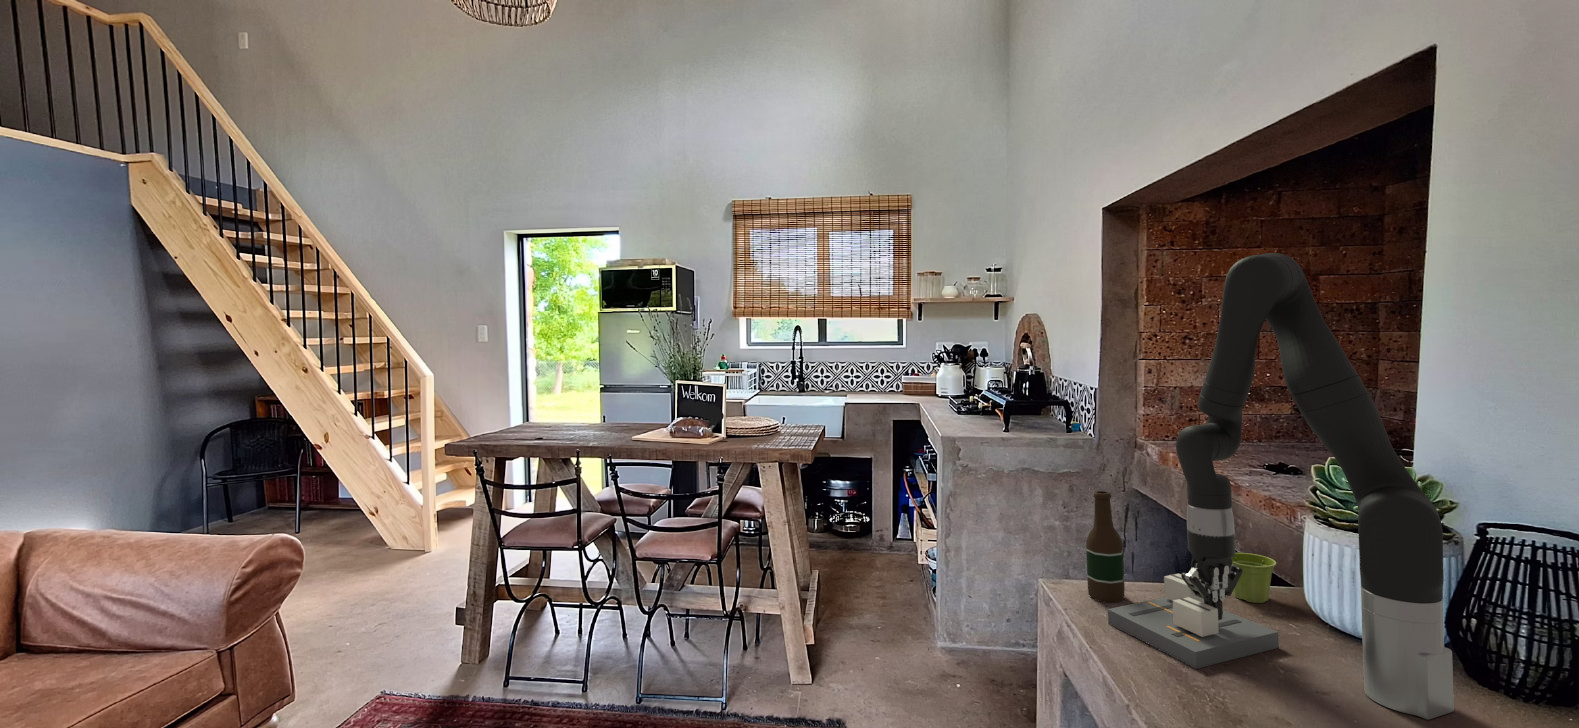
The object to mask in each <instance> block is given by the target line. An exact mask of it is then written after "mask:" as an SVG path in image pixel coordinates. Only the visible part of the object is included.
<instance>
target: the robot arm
mask: <svg viewBox="0 0 1579 728" xmlns="http://www.w3.org/2000/svg"><path fill="white" fill-rule="evenodd" d="M1265 322H1267V324H1268V325H1269V327H1270V329H1271V330H1272V333H1273V334H1274V337H1275V339H1276V342H1277V346H1278V351H1279V358H1280V362H1281V363H1280V364H1281V368H1282V375H1283V378H1284V382H1285V385H1286V387H1287V390H1288V391H1289V392H1288V393H1289V394H1290V395H1291V397H1292V400H1293V401H1294V403H1295V404H1296V407H1297V409H1298V410H1299V412H1300V414H1301V416H1302V417H1303V418H1304V420H1305V422H1306V424H1307V425H1308V426H1309V428H1310V429H1311V431H1312V432H1313V433H1314V435H1316V437H1317V438H1318V439H1319V440H1318V441H1320V442H1321V443H1322V444H1323V445H1324V447H1325V448H1326V449H1327V450H1328V452H1329V453H1330V454H1331V456H1333V458H1334V460H1335V461H1336V462H1337V464H1338V466H1339V467H1340V468H1341V471H1342V472H1343V474H1344V477H1345V479H1346V481H1347V483H1348V485H1349V487H1350V489H1351V492H1352V495H1353V497H1354V499H1355V503H1356V506H1357V509H1358V514H1357V515H1358V516H1357V521H1358V522H1357V526H1358V527H1357V529H1358V531H1357V532H1358V533H1357V534H1358V552H1359V554H1358V559H1359V575H1360V598H1361V600H1360V601H1361V602H1360V604H1361V606H1360V608H1361V637H1362V667H1363V679H1362V680H1363V690H1364V693H1365V695H1366V696H1367V697H1368V699H1369V698H1370V699H1371V700H1372V701H1374V702H1375V703H1377V704H1379V705H1381V706H1384V707H1386V708H1389V709H1391V710H1394V711H1396V712H1400V713H1404V714H1408V715H1412V716H1413V715H1414V716H1416V717H1417V716H1418V717H1420V718H1423V720H1431V719H1434V718H1437V717H1438V718H1439V717H1440V716H1444V715H1447V714H1450V713H1453V712H1454V711H1455V707H1454V706H1455V705H1454V703H1455V702H1454V675H1453V674H1454V673H1453V672H1454V671H1453V670H1454V669H1453V668H1454V667H1453V651H1452V649H1450V648H1448V647H1446V646H1445V641H1444V640H1445V637H1444V636H1445V635H1444V634H1445V632H1444V595H1443V594H1444V593H1443V591H1444V582H1445V581H1444V580H1445V579H1444V575H1445V574H1444V534H1443V526H1442V522H1441V518H1440V515H1439V513H1438V510H1437V507H1436V506H1435V505H1434V503H1433V502H1432V501H1431V500H1430V498H1429V497H1428V496H1427V495H1426V494H1425V492H1424V491H1423V490H1422V489H1421V487H1420V486H1419V485H1418V484H1417V482H1416V480H1415V479H1414V478H1413V477H1412V475H1411V473H1410V472H1409V471H1408V470H1407V468H1406V467H1405V465H1404V464H1403V463H1402V461H1401V459H1400V458H1399V456H1398V455H1397V453H1396V451H1395V449H1394V448H1393V445H1392V443H1391V441H1390V438H1389V435H1388V432H1387V429H1386V427H1385V425H1384V422H1383V420H1382V418H1381V415H1380V413H1379V410H1378V409H1377V407H1376V404H1375V402H1374V401H1373V398H1372V396H1371V394H1370V393H1369V391H1368V389H1367V387H1366V385H1365V384H1364V382H1363V380H1362V378H1361V377H1360V375H1359V374H1358V372H1357V371H1356V369H1355V367H1354V366H1353V364H1352V363H1351V361H1350V360H1349V357H1348V356H1347V355H1346V352H1345V351H1344V350H1343V348H1342V346H1341V345H1340V342H1339V341H1338V340H1337V338H1336V336H1335V334H1334V333H1333V332H1332V330H1331V329H1330V327H1329V326H1328V324H1327V322H1326V321H1325V319H1324V317H1323V315H1322V313H1321V311H1320V309H1319V307H1318V304H1317V302H1316V299H1315V297H1314V295H1313V292H1312V290H1311V287H1310V284H1309V282H1308V280H1307V278H1306V275H1305V273H1304V271H1303V269H1302V268H1301V266H1300V264H1299V263H1298V262H1297V261H1296V260H1295V259H1293V258H1292V257H1290V256H1289V255H1286V254H1282V253H1278V252H1277V253H1276V252H1267V253H1260V254H1254V255H1249V256H1245V257H1244V258H1242V259H1240V260H1238V261H1236V262H1235V263H1234V264H1233V265H1232V266H1231V267H1230V268H1229V270H1228V272H1227V274H1226V276H1225V280H1224V287H1223V294H1222V301H1221V309H1220V318H1219V323H1218V327H1217V328H1218V329H1217V334H1216V340H1215V343H1214V344H1215V345H1214V348H1213V352H1212V356H1211V359H1210V363H1209V365H1208V368H1207V371H1206V375H1205V378H1204V381H1203V384H1202V386H1201V388H1200V389H1201V390H1200V393H1199V397H1198V400H1197V407H1198V409H1199V411H1200V412H1202V413H1203V414H1204V415H1207V421H1206V423H1205V424H1197V425H1190V426H1189V425H1188V426H1186V427H1184V428H1182V430H1180V431H1179V433H1178V436H1177V438H1176V441H1175V451H1176V456H1177V458H1178V460H1179V464H1180V467H1181V470H1182V474H1183V477H1184V478H1185V481H1186V486H1187V487H1186V493H1187V498H1186V499H1187V509H1186V530H1187V531H1186V532H1187V536H1186V537H1187V549H1188V551H1189V553H1190V554H1191V556H1192V558H1191V562H1190V567H1191V568H1190V570H1189V571H1188V573H1187V572H1182V573H1181V577H1182V579H1183V580H1184V581H1185V583H1186V584H1187V585H1188V587H1189V588H1190V589H1191V591H1192V592H1193V593H1194V595H1195V596H1198V597H1200V598H1203V599H1204V604H1207V605H1209V606H1212V607H1214V608H1217V609H1218V620H1221V619H1222V615H1223V611H1222V610H1224V609H1223V601H1225V599H1226V598H1225V597H1231V596H1232V595H1233V593H1234V592H1233V590H1234V588H1235V586H1236V584H1237V582H1238V580H1239V578H1240V576H1241V574H1242V572H1243V570H1242V568H1239V567H1237V566H1235V565H1234V564H1232V563H1233V561H1232V557H1233V556H1234V555H1235V553H1236V542H1235V541H1236V539H1235V538H1236V537H1235V535H1236V533H1235V532H1236V531H1235V516H1234V513H1233V512H1234V511H1233V502H1232V485H1231V481H1230V479H1229V478H1228V477H1227V476H1226V475H1224V474H1220V473H1217V472H1216V469H1215V467H1214V462H1216V461H1223V460H1224V461H1225V460H1227V459H1229V458H1231V457H1233V456H1234V455H1235V453H1236V452H1237V451H1238V449H1239V448H1240V446H1241V441H1242V433H1243V432H1242V431H1243V429H1242V428H1243V410H1244V406H1245V404H1246V402H1247V398H1248V396H1249V394H1250V390H1251V387H1252V384H1253V381H1254V380H1253V379H1254V377H1255V370H1256V354H1257V353H1256V352H1257V351H1256V350H1257V345H1258V341H1259V340H1258V339H1259V337H1260V333H1261V331H1262V327H1263V325H1264V324H1265Z"/></svg>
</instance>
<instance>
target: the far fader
mask: <svg viewBox="0 0 1579 728" xmlns="http://www.w3.org/2000/svg"><path fill="white" fill-rule="evenodd" d="M1181 575H1182V573H1175V574H1173V573H1171V574H1169V575H1165V576H1163V583H1164V585H1163V586H1164V588H1163V589H1164V597H1165V598H1167V599H1170V600H1172V601H1173V600H1178V599H1179V598H1187V597H1189V598H1192V599H1194V600H1197V601H1199V602H1202V603H1204V599H1203V598H1200V597H1198V596H1195V595H1194V593H1193V592H1192V591H1191V589H1190V588H1189V587H1188V585H1187V584H1186V583H1185V581H1184V580H1183V579H1182V577H1181Z"/></svg>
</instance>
